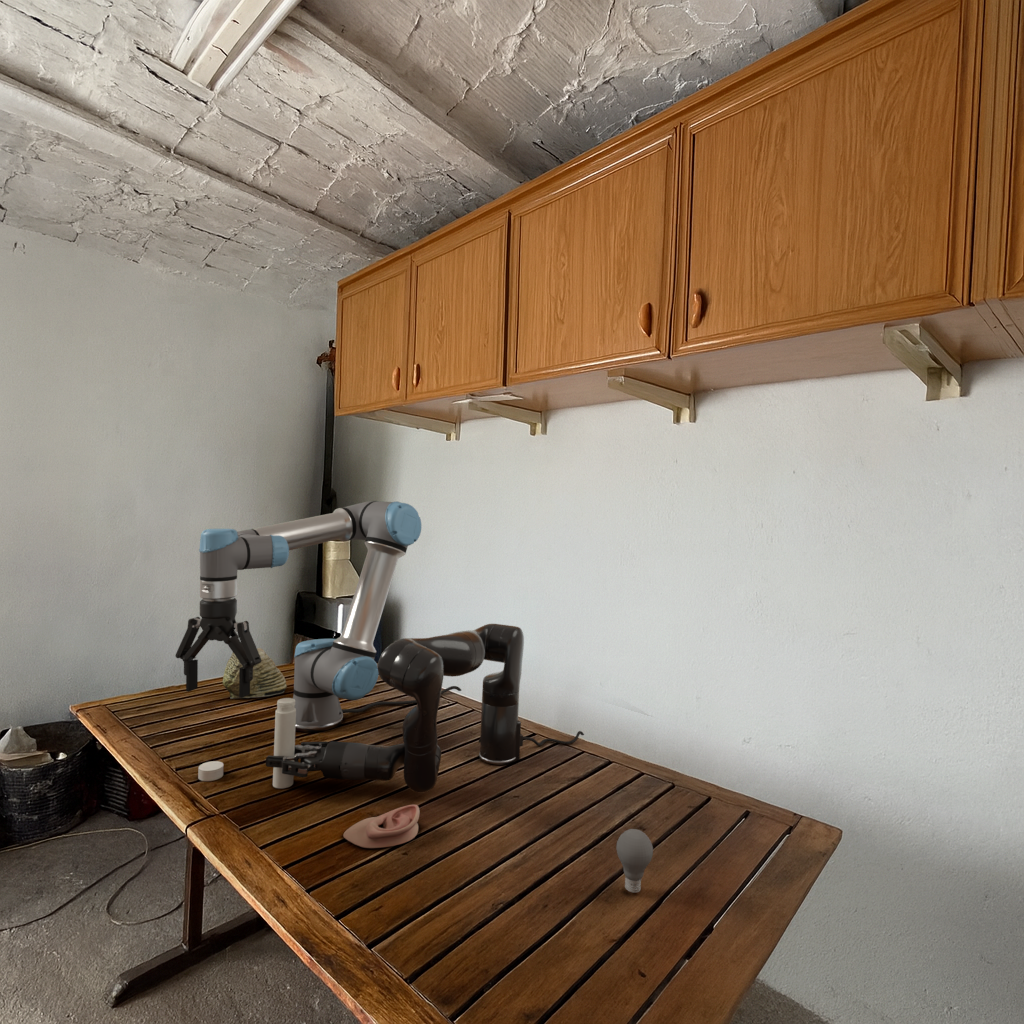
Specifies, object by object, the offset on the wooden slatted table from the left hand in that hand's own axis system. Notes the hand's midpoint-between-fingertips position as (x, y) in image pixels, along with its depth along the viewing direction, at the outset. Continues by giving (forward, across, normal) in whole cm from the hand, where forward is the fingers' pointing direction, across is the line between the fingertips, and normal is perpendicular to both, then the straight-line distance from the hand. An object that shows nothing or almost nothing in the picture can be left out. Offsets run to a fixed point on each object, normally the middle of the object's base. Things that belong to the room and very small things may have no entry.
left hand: (217, 692), depth 141 cm
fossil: (+20, -27, +51) cm, 61 cm away
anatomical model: (+19, +46, -12) cm, 51 cm away
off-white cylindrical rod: (+19, +16, 0) cm, 25 cm away
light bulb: (+19, +92, -16) cm, 96 cm away
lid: (+16, -1, -1) cm, 17 cm away
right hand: (+13, +14, 0) cm, 19 cm away
